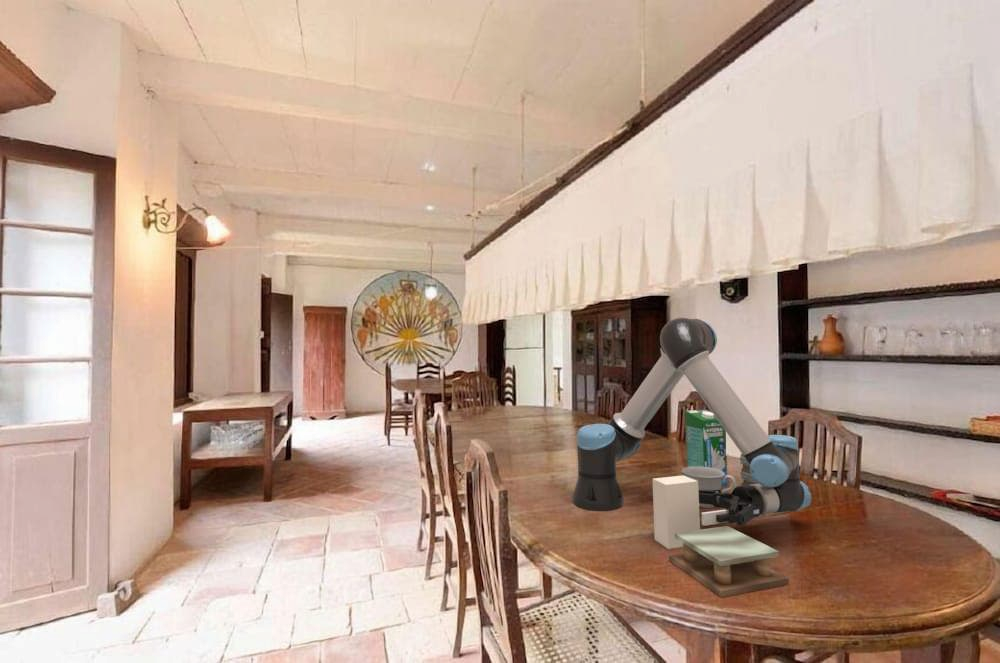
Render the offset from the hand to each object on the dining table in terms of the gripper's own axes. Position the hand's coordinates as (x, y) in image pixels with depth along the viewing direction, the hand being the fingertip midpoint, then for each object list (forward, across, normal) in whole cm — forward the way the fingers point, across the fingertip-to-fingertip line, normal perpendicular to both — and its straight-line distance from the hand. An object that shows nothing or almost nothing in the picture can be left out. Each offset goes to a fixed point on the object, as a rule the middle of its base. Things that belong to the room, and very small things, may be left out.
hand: (683, 509), depth 112 cm
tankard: (-52, +24, -8) cm, 58 cm away
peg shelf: (+2, -15, -8) cm, 17 cm away
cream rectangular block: (+2, +1, -8) cm, 8 cm away
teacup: (-24, +20, -8) cm, 32 cm away
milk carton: (-39, +38, -8) cm, 55 cm away
